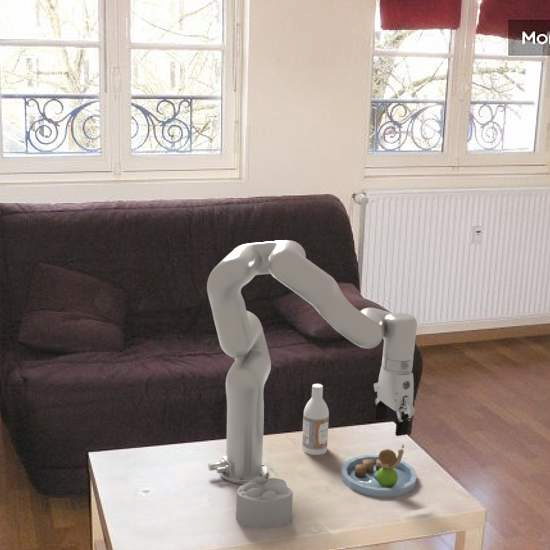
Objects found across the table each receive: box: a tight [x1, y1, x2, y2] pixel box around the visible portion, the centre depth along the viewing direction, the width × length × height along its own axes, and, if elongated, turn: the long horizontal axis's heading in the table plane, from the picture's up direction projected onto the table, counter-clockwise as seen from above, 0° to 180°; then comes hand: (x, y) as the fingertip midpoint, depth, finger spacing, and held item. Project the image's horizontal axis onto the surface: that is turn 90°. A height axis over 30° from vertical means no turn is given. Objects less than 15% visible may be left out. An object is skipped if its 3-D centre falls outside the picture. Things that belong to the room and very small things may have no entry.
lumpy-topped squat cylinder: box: [235, 476, 294, 529], centre depth 211 cm, size 10×13×9 cm
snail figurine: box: [377, 444, 405, 488], centre depth 224 cm, size 5×6×12 cm
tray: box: [340, 454, 418, 498], centre depth 230 cm, size 19×19×3 cm
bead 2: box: [363, 459, 374, 473], centre depth 234 cm, size 3×3×2 cm
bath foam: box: [301, 383, 330, 456], centre depth 243 cm, size 7×7×20 cm
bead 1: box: [355, 464, 367, 478], centre depth 231 cm, size 3×3×2 cm
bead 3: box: [376, 459, 382, 471], centre depth 234 cm, size 3×3×2 cm
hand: (390, 426), depth 222 cm, fingers open, 9 cm apart
